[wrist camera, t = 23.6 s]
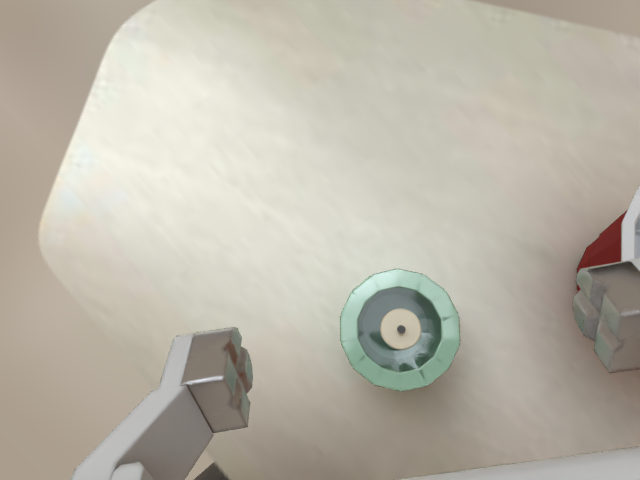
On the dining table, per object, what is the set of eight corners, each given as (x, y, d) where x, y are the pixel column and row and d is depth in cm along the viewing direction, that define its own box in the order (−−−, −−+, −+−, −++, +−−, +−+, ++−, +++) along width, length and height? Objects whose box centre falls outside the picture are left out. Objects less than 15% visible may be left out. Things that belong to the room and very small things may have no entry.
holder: (375, 388, 27) (373, 412, 21) (335, 304, 28) (320, 300, 22) (457, 348, 27) (483, 359, 20) (413, 265, 28) (423, 249, 21)
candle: (388, 344, 27) (392, 358, 18) (376, 318, 27) (373, 319, 18) (414, 331, 27) (430, 339, 18) (401, 306, 27) (410, 301, 18)
